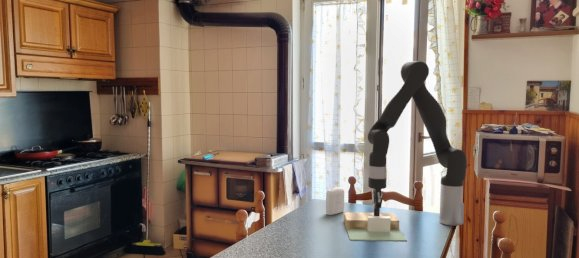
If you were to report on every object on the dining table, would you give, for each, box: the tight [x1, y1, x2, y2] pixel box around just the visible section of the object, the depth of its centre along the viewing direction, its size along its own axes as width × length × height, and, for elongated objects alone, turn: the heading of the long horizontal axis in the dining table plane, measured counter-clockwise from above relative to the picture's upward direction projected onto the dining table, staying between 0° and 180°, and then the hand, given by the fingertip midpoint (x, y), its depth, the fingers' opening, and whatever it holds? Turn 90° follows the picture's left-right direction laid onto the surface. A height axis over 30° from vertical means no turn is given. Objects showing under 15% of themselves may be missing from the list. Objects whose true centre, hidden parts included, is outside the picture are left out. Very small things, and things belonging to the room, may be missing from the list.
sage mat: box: [346, 229, 408, 242], centre depth 176 cm, size 22×13×1 cm, turn 88°
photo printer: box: [325, 186, 345, 216], centre depth 208 cm, size 10×4×12 cm, turn 134°
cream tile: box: [367, 216, 391, 232], centre depth 179 cm, size 9×6×2 cm
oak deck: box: [343, 211, 400, 230], centre depth 189 cm, size 22×12×4 cm, turn 88°
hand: (376, 216), depth 185 cm, fingers closed
